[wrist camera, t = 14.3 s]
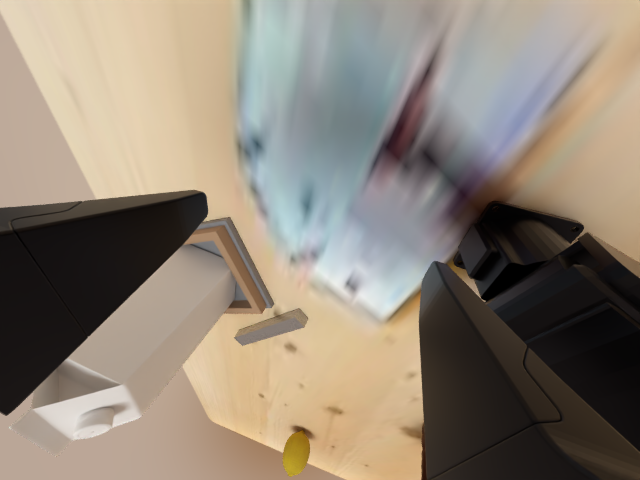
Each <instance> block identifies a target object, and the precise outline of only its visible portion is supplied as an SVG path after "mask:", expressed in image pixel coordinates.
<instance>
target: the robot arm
mask: <svg viewBox="0 0 640 480" xmlns="http://www.w3.org/2000/svg"><path fill="white" fill-rule="evenodd" d="M495 206H499V207H498V208H497V209H496V210H492V209H493V207H495ZM207 215H208V205H207V197H206V194H205V193H203V192H201V191H197V190H188V191H178V192H168V193H158V194H148V195H138V196H128V197H118V198H108V199H98V200H88V201H84V202H82V201H78V202H68V203H57V204H46V205H33V206H21V207H7V208H0V413H1V414H3V415H5V416H7V415H8V414H10V413H11V412H12V411H13V410H15V408H16V407H18V406H19V405H20V404H21V403H22V402H23V401H24V400H25V399H26V398H27V397H28V396H29V395H30V394H31V393H32V392H33V391H34V390H35V389H36V388H37V387H38V386H39V385H40V384H41V383H42V382H43V381H44V380H45V379H46V378H48V377H49V376H50V375H51V374H52V373H53V372H54V371H55V370H56V369H57V368H58V367H59V366H60V365H61V364H62V363H63V362H64V361H65V360H66V359H67V358H68V357H69V356H70V355H71V354H72V353H73V352H74V351H75V350H76V349H77V348H78V347H79V346H80V345H81V344H82V343H83V342H84V341H85V340H86V339H87V338H88V336H90V335H91V334H92V333H93V332H94V331H95V330H96V329H97V328H98V327H99V326H100V325H101V324H102V323H103V322H104V321H106V320H107V319H108V318H109V317H110V316H111V315H112V314H113V313H114V312H115V311H116V310H117V309H118V308H119V307H120V306H121V305H122V304H123V303H124V302H125V301H126V300H127V299H128V298H129V297H130V296H131V295H132V294H133V293H134V292H135V291H136V290H137V289H138V288H139V287H140V286H141V285H142V284H143V283H144V282H145V281H146V280H147V279H149V278H150V277H151V276H152V275H153V274H154V273H155V272H156V271H157V270H158V269H159V268H160V267H161V266H162V265H163V264H164V263H165V262H166V261H167V260H168V259H169V258H170V257H171V256H172V255H173V254H174V253H175V252H176V251H177V250H178V249H179V248H180V247H181V246H182V245H183V244H184V243H185V242H186V241H187V240H188V239H189V237H190V236H191V235H192V234H193V233H194V231H195V230H196V229H197V228H198V227H199V225H200V224H201V223H202V222H203V221H204V219H205V218H206V217H207ZM575 226H576V228H575V229H572V230H570V229H571V228H572V227H575ZM583 230H584V226H583V225H582V224H581V223H580V222H578V221H574V220H570V219H566V218H562V217H558V216H554V215H551V214H547V213H543V212H539V211H535V210H531V209H527V208H523V207H519V206H515V205H511V204H507V203H503V202H499V201H494V202H491V203H490V204H489V205H488V206H487V208H486V209H485V211H484V212H483V214H482V215H481V217H480V218H479V220H478V222H477V223H475V224H473V225H472V226H471V228H470V229H469V231H468V233H467V234H466V236H465V237H464V239H463V241H462V242H461V244H460V245H459V247H458V248H459V251H458V253H457V255H456V256H455V258H454V260H453V261H454V265H455V266H457V267H459V268H463V269H466V270H467V273H468V275H469V277H470V279H474V281H475V283H476V286H477V288H478V291H479V294H480V296H481V298H482V299H483V300H485V301H486V302H483V301H482V300H481V299H480V298H479V297H478V296H477V295H476V294H475V292H474V291H473V290H472V289H471V288H470V287H469V286H468V285H467V284H466V283H465V282H464V281H463V280H462V279H461V278H460V277H459V276H458V275H457V274H456V273H455V272H454V271H453V270H452V269H451V268H450V267H449V266H448V265H447V264H444V263H441V262H438V261H434V262H433V263H432V264H431V266H430V267H429V269H428V271H427V272H426V274H425V276H424V278H423V280H422V287H421V299H420V311H419V335H420V355H421V374H422V394H423V413H424V432H425V452H426V471H427V480H640V263H639V262H637V261H635V260H634V259H632V258H630V257H629V256H627V255H625V254H624V253H622V252H620V251H619V250H617V249H615V248H614V247H612V246H610V245H609V244H607V243H605V242H604V241H602V240H600V239H599V238H597V237H595V236H593V235H592V234H590V233H588V232H587V233H586V234H584V235H583V236H581V237H579V238H578V240H579V241H577V242H576V243H574V244H573V245H571V243H572V242H573V241H574V239H575V238H576V237H577V236H578V235H579V234H580V233H581V232H582V231H583ZM458 261H462V262H460V263H459V262H458Z"/></svg>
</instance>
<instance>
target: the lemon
mask: <svg viewBox="0 0 640 480" xmlns="http://www.w3.org/2000/svg"><path fill="white" fill-rule="evenodd" d="M309 453H310V444H309V440H308V438H307V436H306V435H305V433H304V431H303V430H301V431H300V432H296V433H294V434H292V435H291V436H290V437H289V439H288V440H287V442H286V445H285V448H284V452H283V466H284V468H285V470H286V472H287V473H288V476H290V477H292V476H293V475H297V474H299V473H301V472H302V470H303V469H304V468H305V466H306V463H307V461H308V458H309Z"/></svg>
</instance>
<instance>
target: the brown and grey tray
mask: <svg viewBox="0 0 640 480" xmlns="http://www.w3.org/2000/svg"><path fill="white" fill-rule="evenodd" d="M185 244H190V245H193V246H195V247H197V248H200V249H202V250H205V251H207V252H210V253H212V254H214V255H217V256H219V257H222V258H224V260H225V261H226V263H227V265H228V267H229V268H230V270H231V272H232V274H233V275H234V277H235V279H236V287H235V299H234V301H233V302H232V303H231V304H230V306H229V307H228V308H227V309H226V311H225V312H224V313H230V314H262V313H263V311H264V309H265V308H272V306H273V305H274V303H273V301H272V299H271V297H270V295H269V293H268V291H267V289H266V287H265V285H264V283H263V281H262V279H261V277H260V275H259V273H258V271H257V270H256V268H255V266H254V264H253V262H252V260H251V258H250V256H249V254H248V252H247V250H246V248H245V246H244V244H243V242H242V240H241V238H240V236H239V234H238V232H237V230H236V228H235V226H234V224H233V223H232V221H231V219H230V217H229V218H223V219H218V220H213V221H207V222H202V223H201V224H200V225H199V227H198V228H197V229H196V230H195V231H194V233H193V234H192V235H191V236H190V237H189V239H188V240H187V241H186V242H185V243H184V244H183V245H185ZM183 245H182V246H183ZM182 246H181V247H182ZM181 247H180V248H181Z"/></svg>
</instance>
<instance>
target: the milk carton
mask: <svg viewBox="0 0 640 480" xmlns="http://www.w3.org/2000/svg"><path fill="white" fill-rule="evenodd" d="M235 287H236V279H235V277H234V275H233V274H232V272H231V270H230V268H229V267H228V265H227V263H226V261H225V260H224V258H222V257H219V256H217V255H214V254H212V253H210V252H207V251H205V250H202V249H200V248H197V247H195V246H193V245H190V244H185V245H183V246H182V247H181V248H179V249H178V250H177V251H176V252H175V253H174V254H173V255H172V256H171V257H170V258H169V259H168V260H167V261H166V262H165V263H164V264H163V265H162V266H161V267H160V268H159V269H158V270H157V271H156V272H155V273H154V274H153V275H152V276H151V277H150V278H149V279H147V280H146V281H145V282H144V283H143V284H142V285H141V286H140V287H139V288H138V289H137V290H136V291H135V292H134V293H133V294H132V295H131V296H130V297H129V298H128V299H127V300H126V301H125V302H124V303H123V304H122V305H121V306H120V307H119V308H118V309H117V310H116V311H115V312H114V313H113V314H112V315H111V316H110V317H109V318H108V319H107V320H106V321H104V322H103V323H102V324H101V325H100V326H99V327H98V328H97V329H96V330H95V331H94V332H93V333H92V334H91V335H90V336H88V338H87V339H86V340H85V341H84V342H83V343H82V344H81V345H80V346H79V347H78V348H77V349H76V350H75V351H74V352H73V353H72V354H71V355H70V356H69V357H68V358H67V359H66V360H65V361H64V362H63V363H62V364H61V365H60V366H59V367H58V368H57V369H56V370H55V371H54V372H53V373H52V374H51V375H50V376H49V377H48V378H46V379H45V380H44V381H43V382H42V383H41V384H40V385H39V386H38V387H37V388H36V389H35V390H34V394H33V400H32V405H31V408H30V409H29V410H28V411H27V412H26V413H25V414H24V415H22V416H21V417H20V418H19V419H18V420H17V421H15V422H14V423H13V424H12V425H11V426H10V427H9V428H10V429H11V430H13V431H14V432H16V433H18V434H19V435H21V436H23V437H24V438H26V439H28V440H29V441H31V442H33V443H34V444H36V445H37V446H39V447H41V448H42V449H44V450H46V451H47V452H49V453H51V454H52V455H54V456H56V457H57V456H59V454H60V453H61V452H62V451H63V450H64V449H65V448H66V447H67V446H68V445H69V444H70V443H71V442H72V441H73V440H76V439H85V438H91V437H94V436H97V435H100V434H103V433H105V432H107V431H108V430H110V429H111V428H112V427H115V426H118V425H121V424H124V423H127V422H130V421H133V420H136V419H139V418H140V417H141V416H142V415H143V414H144V413H145V412H146V411H147V409H148V408H149V407H150V405H151V404H152V403H153V402H154V401H155V399H156V398H157V397H158V396H159V394H160V393H161V392H162V390H163V389H164V388H165V387H166V385H167V384H168V383H169V382H170V380H171V379H172V378H173V377H174V375H175V374H176V373H177V371H178V370H179V369H180V368H181V366H182V365H183V364H184V363H185V361H186V360H187V359H188V358H189V356H190V355H191V354H192V352H193V351H194V350H195V349H196V347H197V346H198V345H199V344H200V342H201V341H202V340H203V339H204V337H205V336H206V335H207V333H208V332H209V331H210V330H211V328H212V327H213V326H214V325H215V323H216V322H217V321H218V320H219V318H220V317H221V316H222V314H223V313H224V312H225V311H226V309H227V308H228V307H229V306H230V304H231V303H232V302H233V301H234V299H235Z"/></svg>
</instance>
